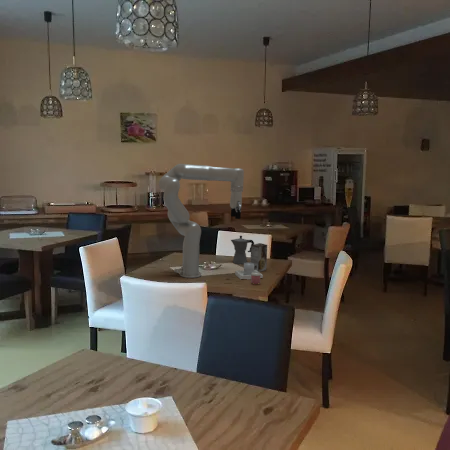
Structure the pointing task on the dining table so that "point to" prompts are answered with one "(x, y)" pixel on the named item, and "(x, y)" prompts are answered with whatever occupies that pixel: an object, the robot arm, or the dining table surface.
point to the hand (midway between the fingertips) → (235, 217)
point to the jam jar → (255, 277)
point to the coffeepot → (240, 250)
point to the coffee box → (259, 256)
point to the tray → (241, 276)
